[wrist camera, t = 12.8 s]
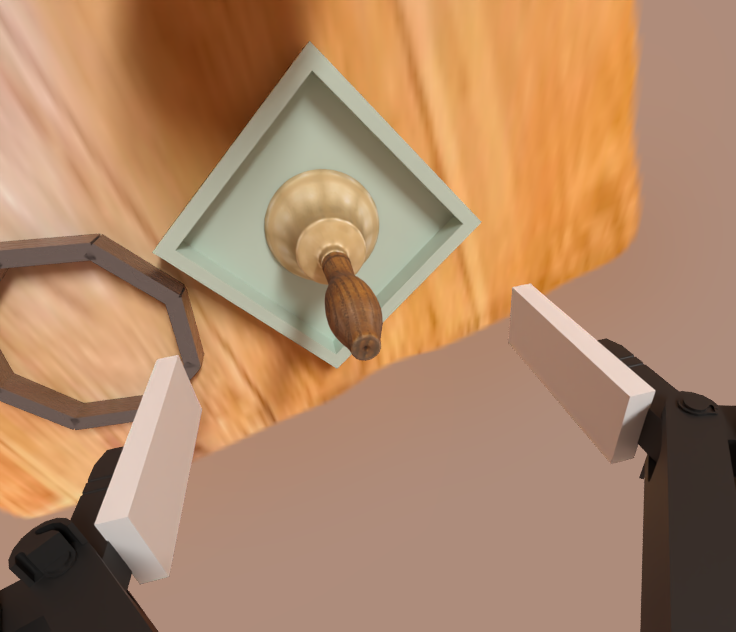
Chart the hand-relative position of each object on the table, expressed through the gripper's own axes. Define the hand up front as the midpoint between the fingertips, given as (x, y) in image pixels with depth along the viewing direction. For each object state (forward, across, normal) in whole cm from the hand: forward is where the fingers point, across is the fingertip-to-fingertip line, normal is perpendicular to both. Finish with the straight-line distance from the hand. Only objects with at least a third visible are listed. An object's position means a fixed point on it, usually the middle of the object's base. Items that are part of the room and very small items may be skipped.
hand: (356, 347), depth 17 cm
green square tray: (+17, 0, -1) cm, 17 cm away
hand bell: (+17, 0, -1) cm, 17 cm away
